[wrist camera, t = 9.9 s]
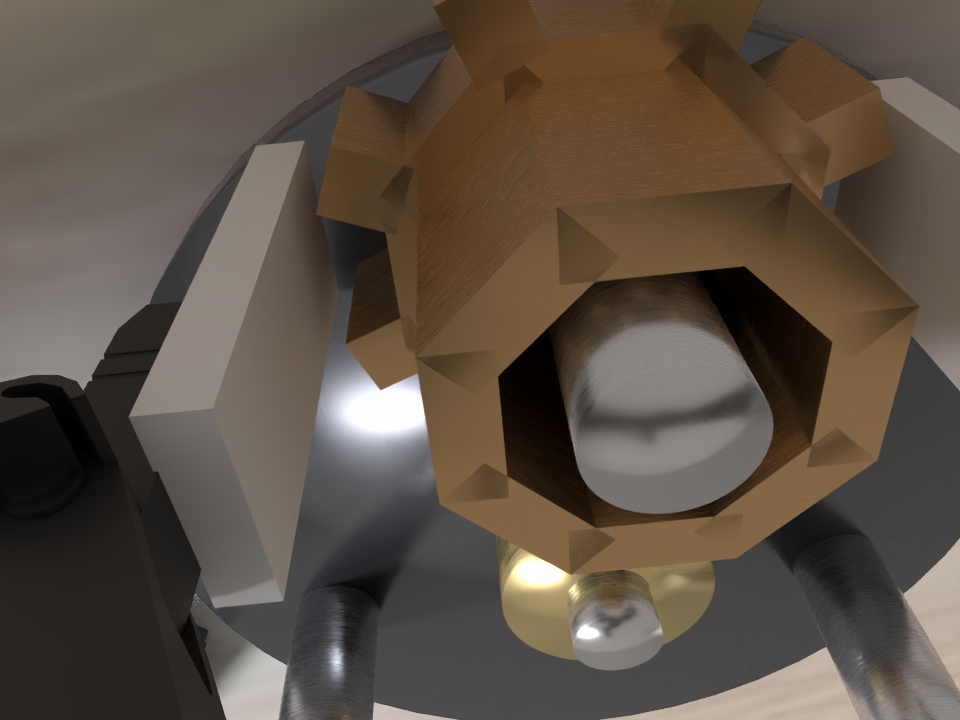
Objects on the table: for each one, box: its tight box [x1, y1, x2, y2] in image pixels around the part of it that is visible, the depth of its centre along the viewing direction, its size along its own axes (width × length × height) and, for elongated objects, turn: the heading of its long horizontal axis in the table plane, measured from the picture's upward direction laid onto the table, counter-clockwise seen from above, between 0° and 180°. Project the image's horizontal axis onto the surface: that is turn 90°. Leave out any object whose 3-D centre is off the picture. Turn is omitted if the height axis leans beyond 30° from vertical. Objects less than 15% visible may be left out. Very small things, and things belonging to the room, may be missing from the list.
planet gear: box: [316, 0, 920, 575], centre depth 11 cm, size 8×8×6 cm
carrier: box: [150, 20, 960, 720], centre depth 16 cm, size 19×19×8 cm
